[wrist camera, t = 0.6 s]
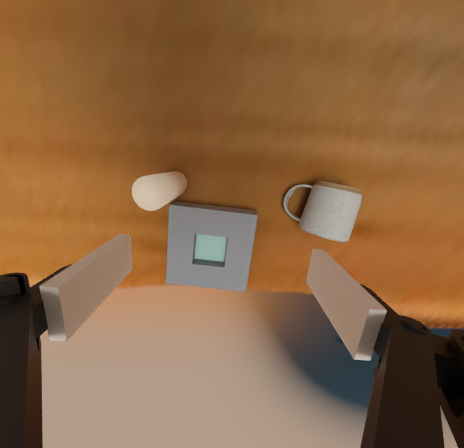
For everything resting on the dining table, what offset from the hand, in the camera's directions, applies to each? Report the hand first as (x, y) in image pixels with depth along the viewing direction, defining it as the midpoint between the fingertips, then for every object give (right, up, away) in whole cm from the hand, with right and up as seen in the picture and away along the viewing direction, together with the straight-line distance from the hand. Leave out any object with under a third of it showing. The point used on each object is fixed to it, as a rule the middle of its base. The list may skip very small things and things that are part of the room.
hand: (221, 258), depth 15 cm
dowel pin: (-9, +9, +20) cm, 24 cm away
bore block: (-3, -1, +23) cm, 24 cm away
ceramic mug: (+15, +6, +22) cm, 27 cm away
